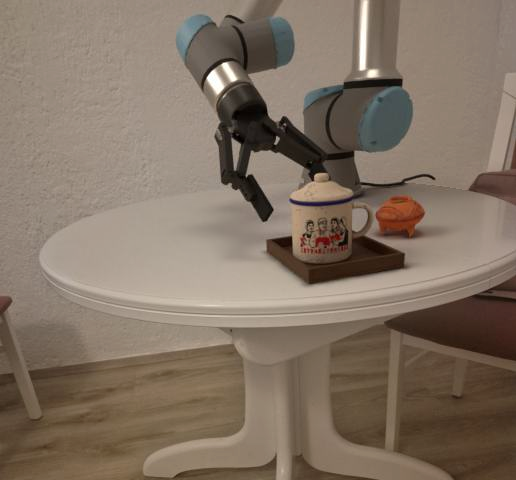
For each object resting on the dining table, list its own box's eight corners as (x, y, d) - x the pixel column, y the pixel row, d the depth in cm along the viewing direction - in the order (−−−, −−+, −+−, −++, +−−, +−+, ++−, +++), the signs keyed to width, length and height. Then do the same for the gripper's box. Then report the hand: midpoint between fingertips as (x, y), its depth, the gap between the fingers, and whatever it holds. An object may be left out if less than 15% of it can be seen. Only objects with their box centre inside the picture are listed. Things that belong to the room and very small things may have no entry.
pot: (436, 231, 80) (434, 192, 76) (400, 250, 78) (396, 211, 74) (402, 221, 86) (398, 185, 83) (368, 239, 84) (363, 202, 81)
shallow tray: (346, 239, 81) (346, 227, 80) (404, 267, 66) (405, 253, 65) (266, 251, 77) (266, 239, 76) (308, 284, 63) (308, 269, 62)
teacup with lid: (295, 267, 67) (292, 181, 62) (288, 250, 76) (285, 172, 70) (380, 260, 68) (384, 174, 62) (363, 243, 76) (366, 165, 70)
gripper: (284, 114, 87) (345, 208, 83) (162, 127, 74) (227, 239, 70) (304, 78, 81) (371, 178, 77) (174, 85, 68) (246, 206, 64)
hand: (303, 207), depth 73 cm, fingers open, 13 cm apart
